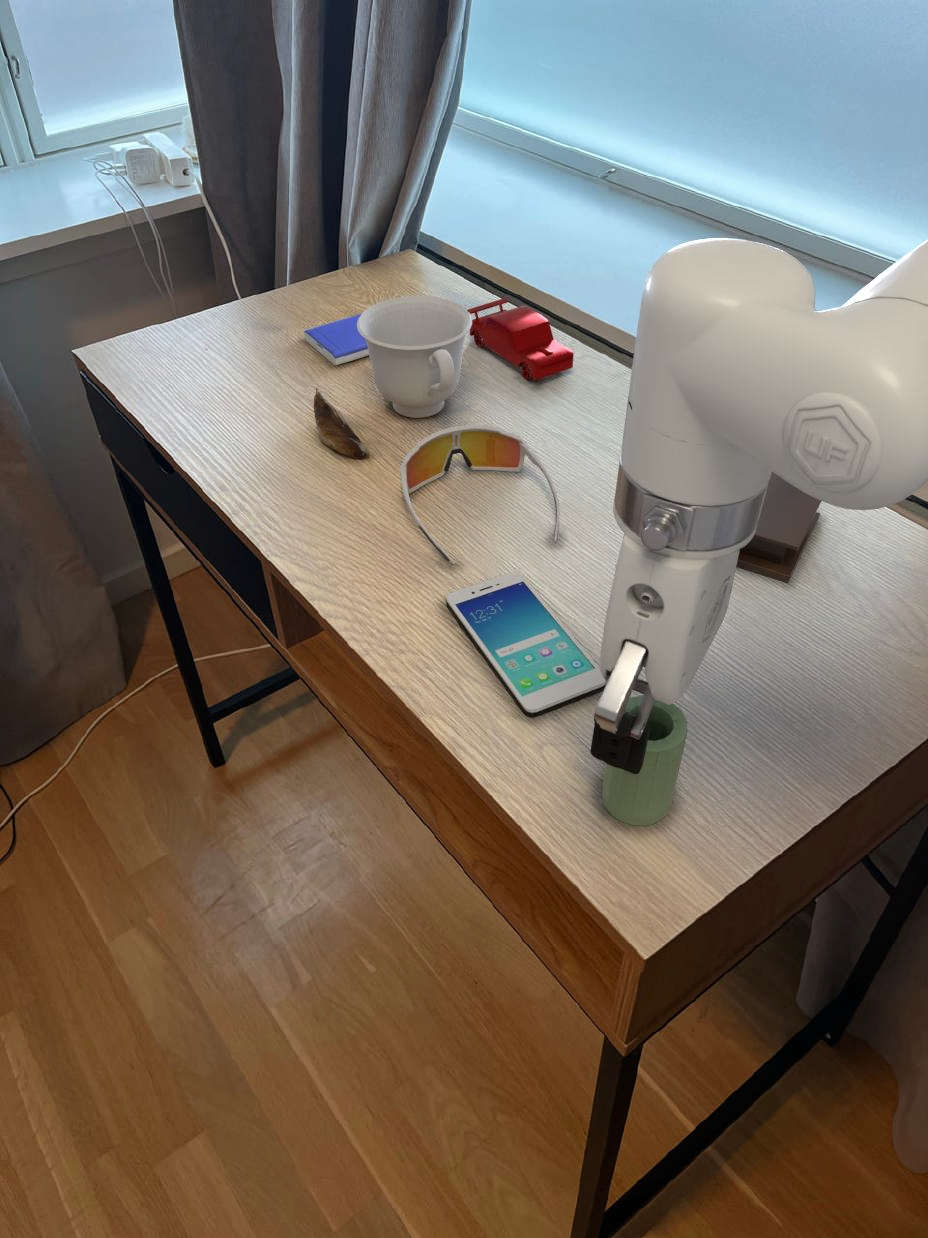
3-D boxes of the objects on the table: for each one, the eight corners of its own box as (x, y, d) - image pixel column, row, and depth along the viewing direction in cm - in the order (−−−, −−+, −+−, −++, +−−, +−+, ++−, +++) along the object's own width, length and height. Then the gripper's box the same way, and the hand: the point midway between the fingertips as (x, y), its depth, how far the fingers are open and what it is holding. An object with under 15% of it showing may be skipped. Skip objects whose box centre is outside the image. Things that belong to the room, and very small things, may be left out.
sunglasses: (518, 451, 100) (522, 412, 96) (574, 553, 91) (581, 515, 87) (386, 477, 97) (384, 439, 93) (430, 586, 88) (430, 548, 84)
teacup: (397, 458, 99) (391, 370, 93) (349, 391, 109) (340, 307, 103) (502, 431, 103) (504, 344, 96) (447, 369, 113) (444, 286, 106)
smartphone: (527, 713, 72) (441, 594, 82) (527, 720, 73) (442, 602, 83) (611, 680, 75) (518, 569, 85) (610, 688, 75) (518, 576, 85)
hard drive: (391, 302, 123) (303, 328, 118) (425, 326, 117) (334, 354, 113) (392, 314, 124) (305, 340, 119) (425, 338, 119) (336, 367, 114)
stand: (818, 519, 91) (829, 484, 88) (788, 583, 84) (798, 547, 82) (735, 496, 94) (743, 461, 91) (700, 555, 87) (707, 520, 84)
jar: (680, 786, 68) (698, 711, 63) (656, 836, 65) (672, 762, 60) (617, 760, 70) (629, 685, 65) (591, 808, 67) (600, 733, 62)
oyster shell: (357, 480, 104) (305, 407, 105) (384, 458, 103) (331, 385, 104) (338, 473, 98) (283, 395, 99) (367, 450, 98) (311, 372, 99)
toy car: (466, 341, 118) (466, 302, 115) (503, 328, 120) (504, 290, 117) (535, 388, 109) (536, 348, 106) (573, 374, 112) (576, 334, 108)
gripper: (702, 616, 43) (650, 834, 55) (805, 432, 54) (743, 647, 66) (551, 563, 46) (532, 782, 58) (678, 398, 57) (640, 610, 69)
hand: (645, 709), depth 62 cm, fingers open, 9 cm apart
